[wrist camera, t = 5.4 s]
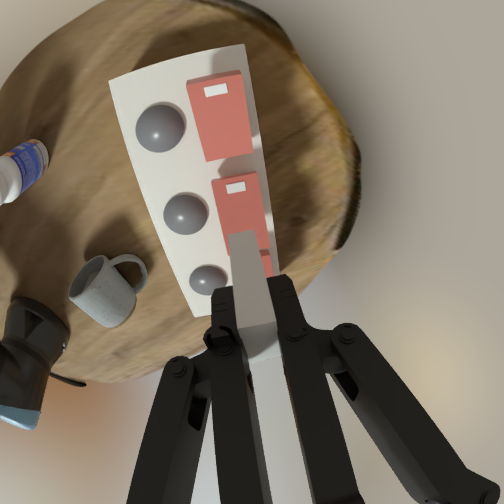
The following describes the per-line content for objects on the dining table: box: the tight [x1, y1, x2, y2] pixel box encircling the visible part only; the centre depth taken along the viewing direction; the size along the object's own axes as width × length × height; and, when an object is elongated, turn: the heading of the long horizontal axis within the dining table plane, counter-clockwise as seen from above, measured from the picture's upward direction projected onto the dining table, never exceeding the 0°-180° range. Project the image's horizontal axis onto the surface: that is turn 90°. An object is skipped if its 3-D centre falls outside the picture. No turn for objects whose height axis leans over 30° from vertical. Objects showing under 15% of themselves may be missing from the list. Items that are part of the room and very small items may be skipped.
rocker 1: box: [186, 70, 254, 162], centre depth 19 cm, size 4×7×2 cm, turn 9°
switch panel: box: [109, 44, 280, 317], centre depth 29 cm, size 12×34×6 cm, turn 9°
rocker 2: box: [211, 171, 270, 256], centre depth 25 cm, size 4×7×2 cm, turn 9°
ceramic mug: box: [68, 254, 148, 328], centre depth 33 cm, size 11×8×8 cm
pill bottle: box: [0, 139, 49, 205], centre depth 20 cm, size 5×5×10 cm
